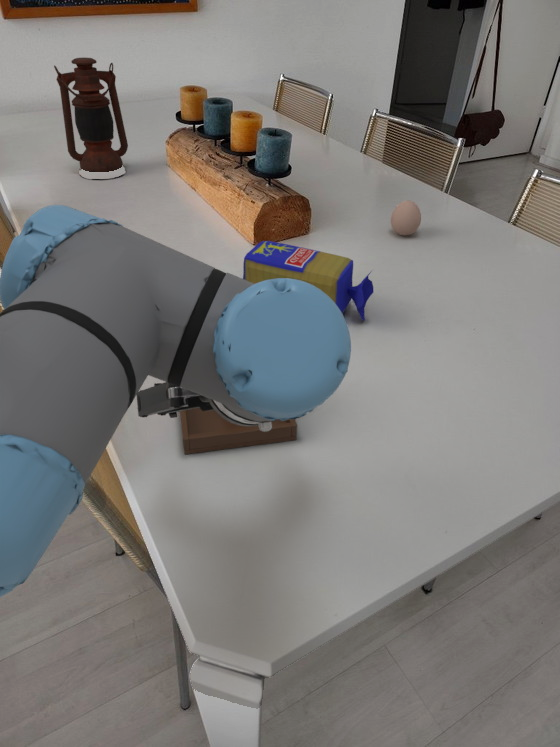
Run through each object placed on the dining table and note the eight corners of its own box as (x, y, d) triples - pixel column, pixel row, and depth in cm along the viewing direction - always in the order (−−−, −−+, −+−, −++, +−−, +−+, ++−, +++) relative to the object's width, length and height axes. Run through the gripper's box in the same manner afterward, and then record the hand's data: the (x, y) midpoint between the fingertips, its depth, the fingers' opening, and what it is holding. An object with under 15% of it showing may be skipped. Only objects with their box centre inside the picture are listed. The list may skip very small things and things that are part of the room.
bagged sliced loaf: (259, 280, 113) (260, 233, 107) (374, 308, 106) (382, 259, 99) (237, 302, 106) (236, 253, 99) (359, 334, 98) (366, 283, 92)
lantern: (125, 162, 172) (109, 53, 154) (137, 176, 162) (122, 61, 144) (68, 169, 165) (45, 56, 147) (77, 183, 156) (53, 64, 137)
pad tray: (184, 454, 74) (182, 439, 72) (177, 383, 86) (176, 369, 84) (296, 440, 76) (297, 425, 75) (274, 373, 88) (274, 359, 87)
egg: (420, 241, 131) (427, 207, 126) (390, 240, 131) (396, 206, 126) (415, 229, 137) (421, 196, 131) (386, 228, 137) (391, 195, 131)
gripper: (94, 444, 40) (125, 444, 61) (407, 407, 45) (337, 418, 66) (86, 345, 41) (119, 378, 62) (394, 318, 46) (328, 358, 67)
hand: (231, 399), depth 64 cm, fingers open, 13 cm apart
